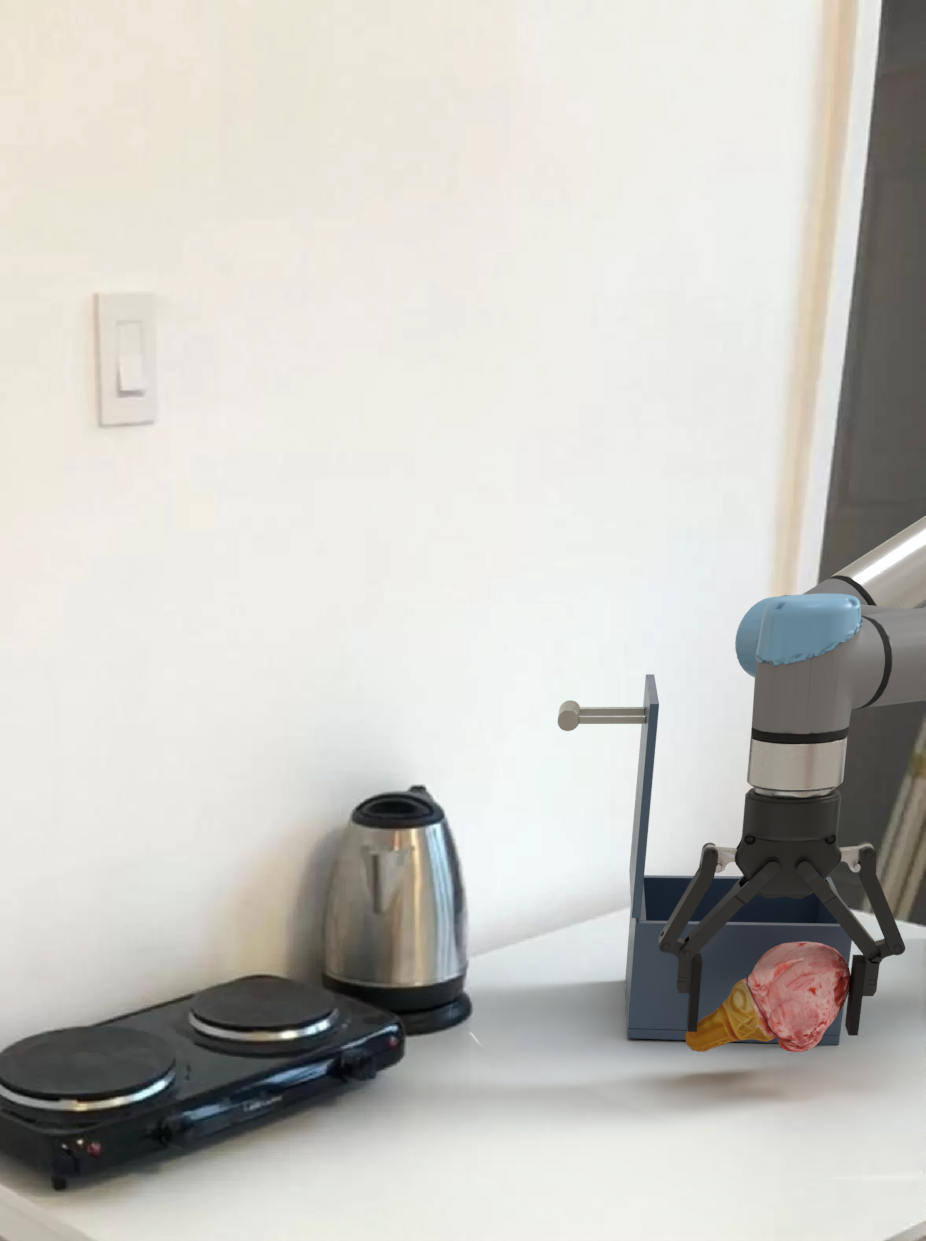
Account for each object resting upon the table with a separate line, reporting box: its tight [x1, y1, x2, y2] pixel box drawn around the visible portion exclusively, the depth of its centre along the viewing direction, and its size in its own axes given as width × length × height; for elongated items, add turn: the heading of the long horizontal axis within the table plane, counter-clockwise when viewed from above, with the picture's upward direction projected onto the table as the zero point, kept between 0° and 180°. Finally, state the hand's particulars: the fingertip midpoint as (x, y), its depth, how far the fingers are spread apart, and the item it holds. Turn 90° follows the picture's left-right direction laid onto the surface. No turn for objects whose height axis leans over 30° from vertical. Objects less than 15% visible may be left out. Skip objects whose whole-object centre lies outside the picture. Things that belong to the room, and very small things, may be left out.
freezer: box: [624, 874, 853, 1046], centre depth 176 cm, size 19×19×12 cm
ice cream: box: [685, 942, 851, 1053], centre depth 159 cm, size 11×10×15 cm
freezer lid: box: [557, 673, 660, 918], centre depth 173 cm, size 20×19×9 cm
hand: (770, 1029), depth 158 cm, fingers closed on ice cream, 12 cm apart
